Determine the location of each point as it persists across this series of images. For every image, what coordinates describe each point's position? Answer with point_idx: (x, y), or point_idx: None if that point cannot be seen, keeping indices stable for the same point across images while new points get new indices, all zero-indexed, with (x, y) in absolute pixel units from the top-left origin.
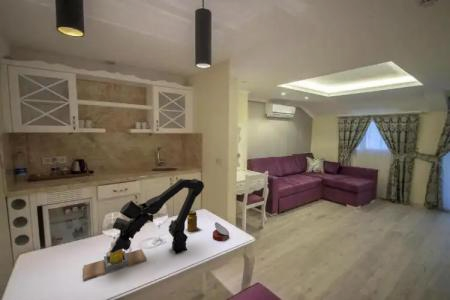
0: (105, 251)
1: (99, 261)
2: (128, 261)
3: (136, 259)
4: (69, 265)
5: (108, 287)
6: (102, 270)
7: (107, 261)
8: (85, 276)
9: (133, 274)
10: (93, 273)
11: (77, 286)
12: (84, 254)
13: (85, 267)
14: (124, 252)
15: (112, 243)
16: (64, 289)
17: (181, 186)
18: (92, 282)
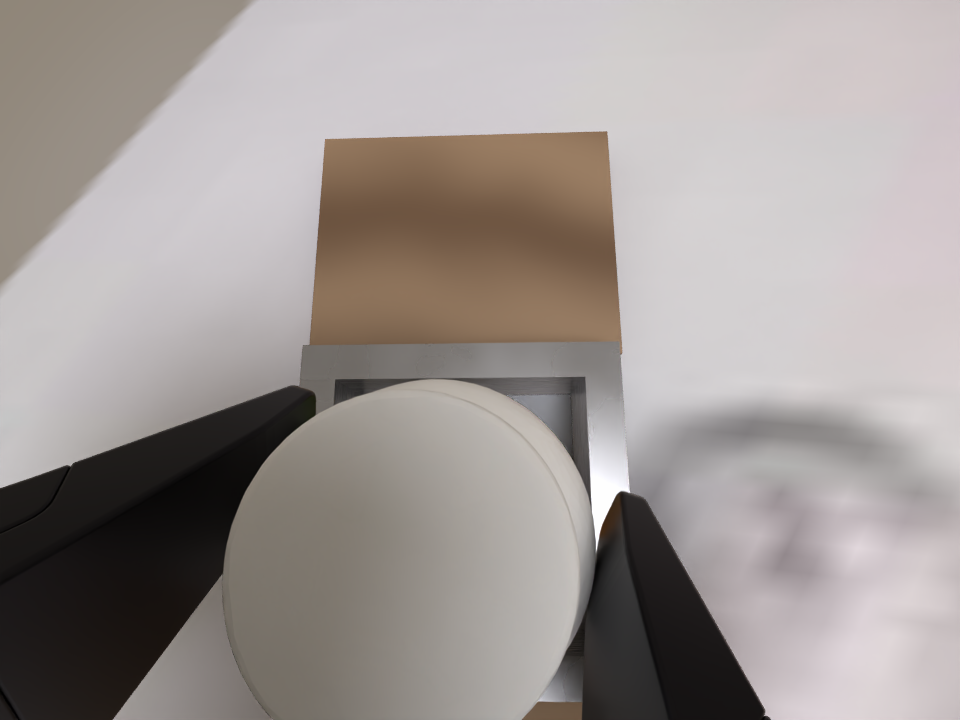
0: (910, 402)
1: (604, 299)
2: None
3: None
4: (735, 28)
5: (61, 371)
6: (361, 322)
7: (439, 377)
8: (354, 152)
9: None
10: (359, 226)
11: (288, 112)
12: (935, 155)
13: (546, 149)
14: (582, 686)
15: (348, 430)
16: (316, 23)
17: None
18: (260, 231)
